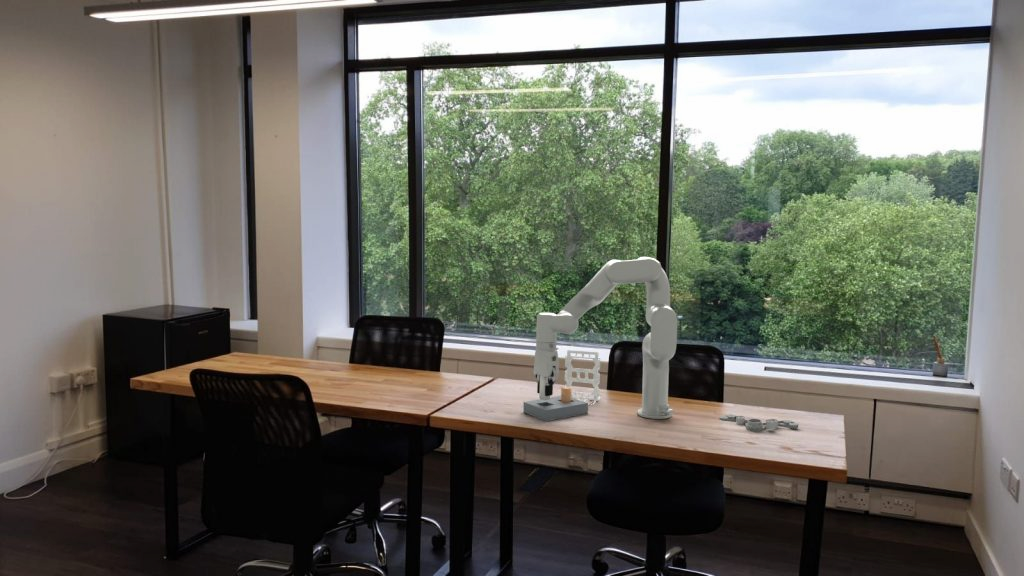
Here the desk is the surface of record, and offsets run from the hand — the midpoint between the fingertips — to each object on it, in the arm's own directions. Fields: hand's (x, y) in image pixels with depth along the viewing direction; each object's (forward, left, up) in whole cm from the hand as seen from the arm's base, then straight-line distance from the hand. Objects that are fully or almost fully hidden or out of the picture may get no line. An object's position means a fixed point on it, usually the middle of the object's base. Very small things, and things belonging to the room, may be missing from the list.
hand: (544, 393), depth 267 cm
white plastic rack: (+10, -26, -8) cm, 29 cm away
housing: (0, -5, -8) cm, 10 cm away
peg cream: (0, 0, -2) cm, 2 cm away
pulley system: (-52, -56, -9) cm, 77 cm away
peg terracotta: (0, -10, -8) cm, 13 cm away
